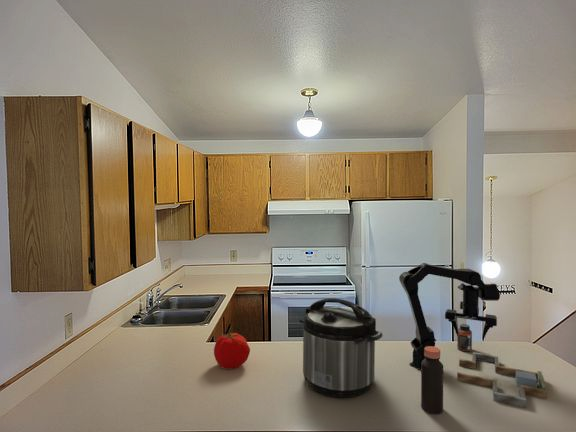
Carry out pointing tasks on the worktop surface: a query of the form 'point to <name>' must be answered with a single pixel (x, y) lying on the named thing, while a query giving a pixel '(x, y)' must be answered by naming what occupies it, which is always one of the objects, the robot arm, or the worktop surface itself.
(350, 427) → the worktop surface
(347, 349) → the pressure cooker
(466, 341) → the supplement bottle
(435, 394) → the vinegar
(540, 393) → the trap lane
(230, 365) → the tomato
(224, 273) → the worktop surface
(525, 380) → the block
